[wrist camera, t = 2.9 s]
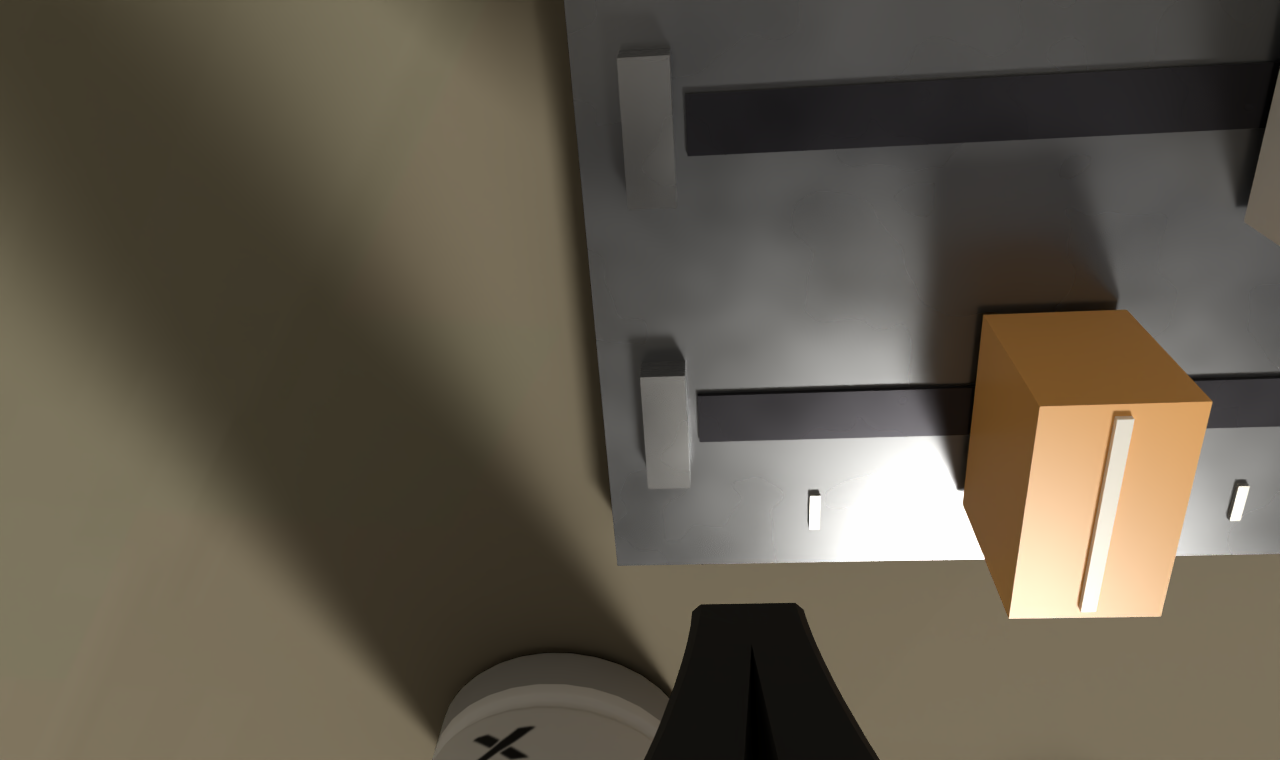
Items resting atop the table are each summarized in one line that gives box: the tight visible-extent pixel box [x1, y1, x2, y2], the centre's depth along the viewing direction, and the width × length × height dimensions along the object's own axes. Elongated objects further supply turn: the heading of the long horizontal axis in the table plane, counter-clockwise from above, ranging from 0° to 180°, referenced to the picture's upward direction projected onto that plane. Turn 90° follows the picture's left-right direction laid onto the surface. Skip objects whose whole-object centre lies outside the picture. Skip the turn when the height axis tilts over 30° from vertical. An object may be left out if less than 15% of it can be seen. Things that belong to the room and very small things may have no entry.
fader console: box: [564, 0, 1280, 566], centre depth 17 cm, size 20×13×2 cm, turn 94°
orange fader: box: [963, 310, 1213, 619], centre depth 16 cm, size 2×4×3 cm, turn 4°
